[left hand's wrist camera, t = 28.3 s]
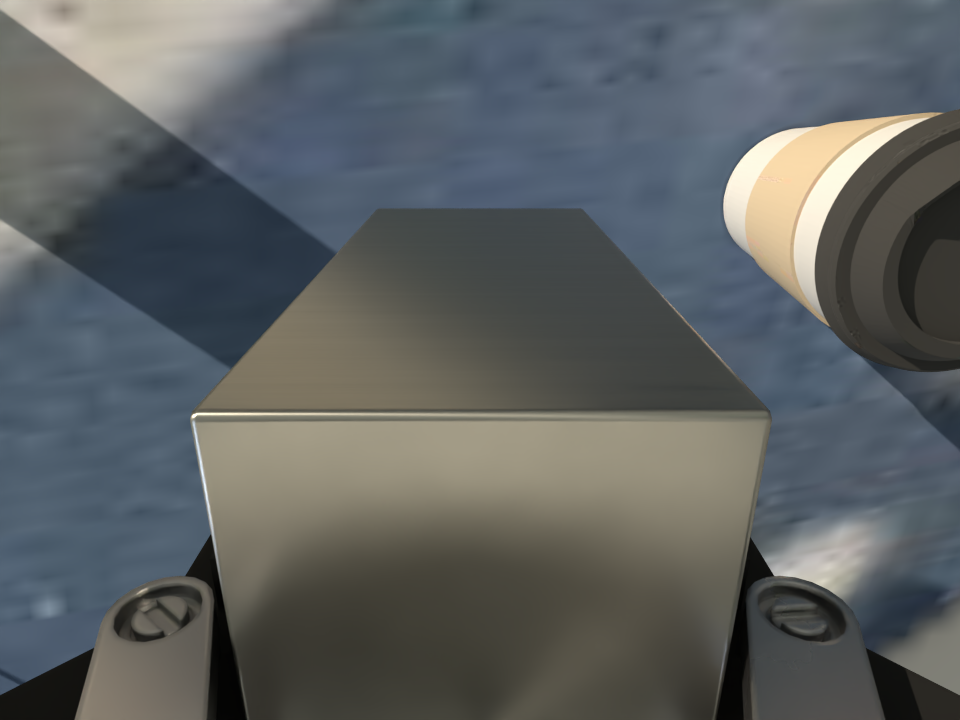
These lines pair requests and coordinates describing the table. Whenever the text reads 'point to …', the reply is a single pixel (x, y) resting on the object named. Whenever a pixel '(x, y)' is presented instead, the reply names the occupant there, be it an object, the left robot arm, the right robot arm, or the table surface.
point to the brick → (480, 483)
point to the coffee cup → (862, 231)
